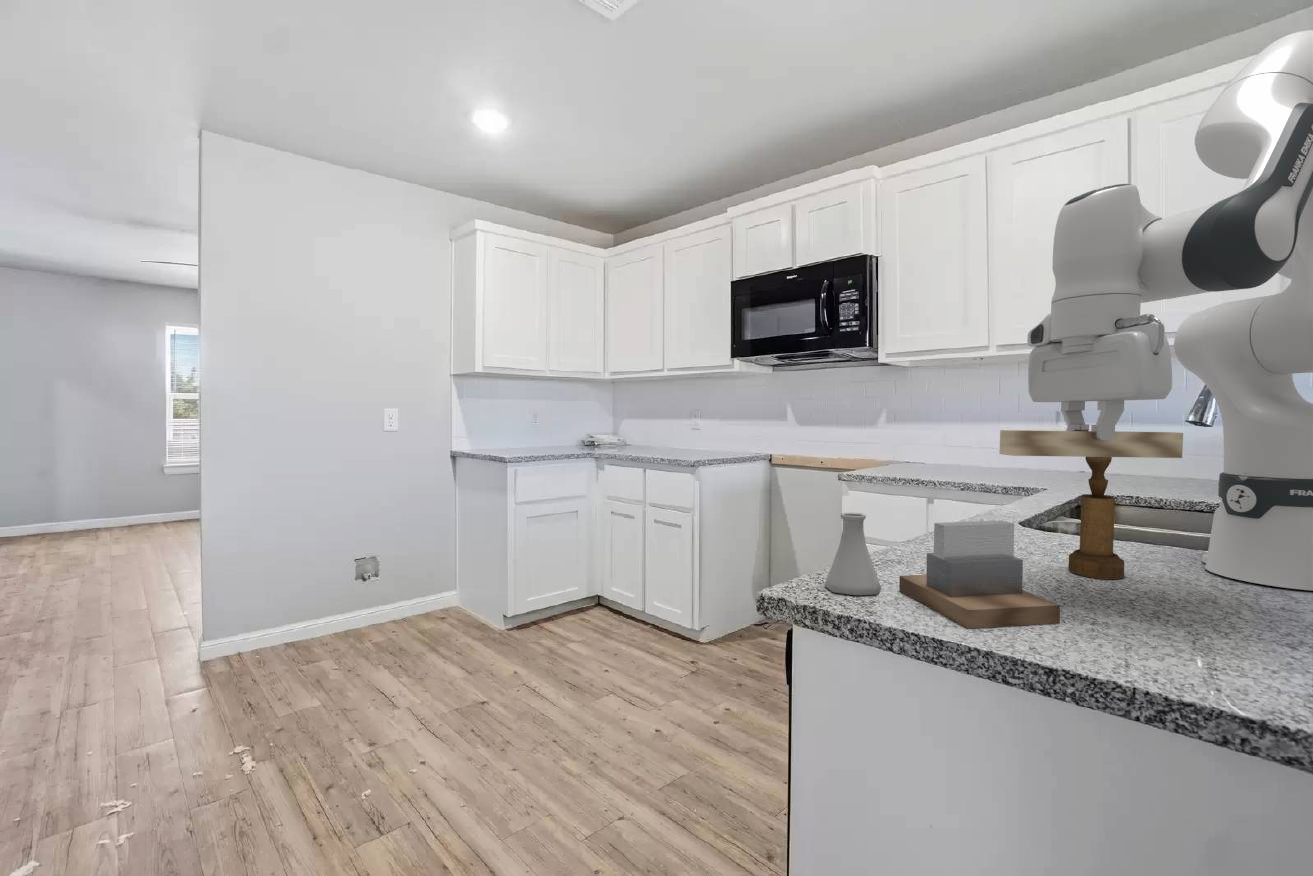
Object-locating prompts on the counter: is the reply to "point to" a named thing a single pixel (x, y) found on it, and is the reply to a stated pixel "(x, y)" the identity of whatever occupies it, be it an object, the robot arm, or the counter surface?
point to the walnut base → (983, 606)
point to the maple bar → (1090, 444)
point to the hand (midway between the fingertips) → (1089, 439)
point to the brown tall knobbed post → (1097, 529)
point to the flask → (853, 561)
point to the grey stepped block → (974, 559)
